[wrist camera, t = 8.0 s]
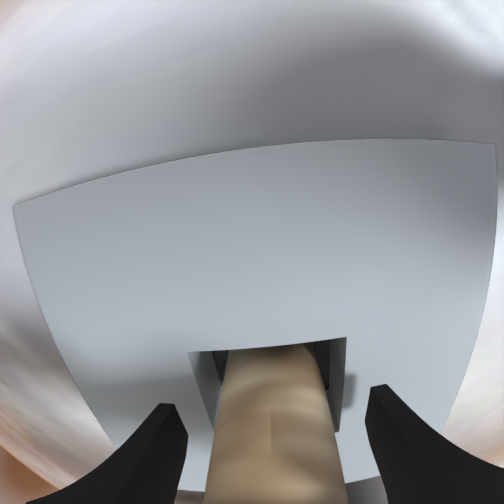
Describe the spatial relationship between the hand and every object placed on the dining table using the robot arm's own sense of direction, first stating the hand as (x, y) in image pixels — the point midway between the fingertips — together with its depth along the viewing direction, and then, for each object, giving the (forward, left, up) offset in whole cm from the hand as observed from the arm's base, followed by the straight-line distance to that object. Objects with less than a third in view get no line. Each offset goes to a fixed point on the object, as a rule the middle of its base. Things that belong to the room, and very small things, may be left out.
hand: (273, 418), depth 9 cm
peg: (0, 0, -4) cm, 4 cm away
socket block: (0, 0, -4) cm, 4 cm away
